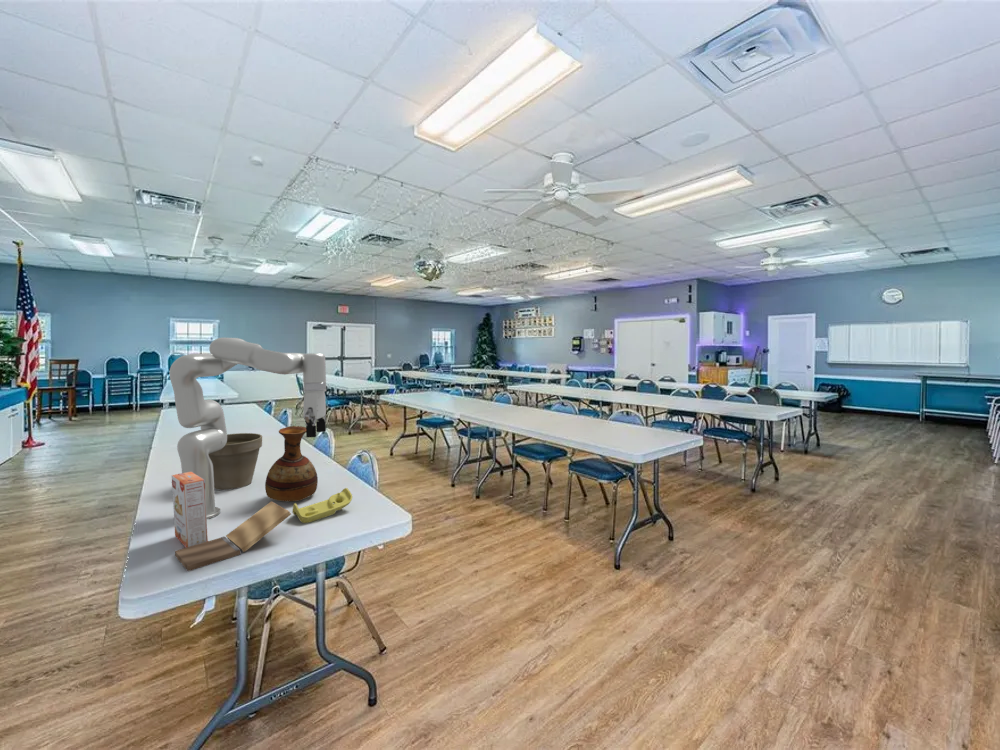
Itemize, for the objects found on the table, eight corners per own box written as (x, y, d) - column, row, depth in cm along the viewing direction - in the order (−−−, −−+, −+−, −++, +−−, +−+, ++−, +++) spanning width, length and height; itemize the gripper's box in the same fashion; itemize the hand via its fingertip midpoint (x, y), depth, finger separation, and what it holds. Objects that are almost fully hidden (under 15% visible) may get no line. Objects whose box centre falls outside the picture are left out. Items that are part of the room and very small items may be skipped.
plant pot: (228, 496, 179) (226, 445, 178) (185, 491, 186) (183, 442, 185) (276, 479, 203) (274, 434, 201) (236, 475, 210) (234, 431, 209)
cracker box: (173, 537, 140) (170, 474, 139) (195, 531, 144) (192, 470, 143) (185, 550, 131) (182, 483, 130) (208, 543, 135) (205, 478, 134)
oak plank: (244, 552, 129) (241, 548, 128) (228, 539, 138) (225, 535, 137) (291, 514, 139) (288, 511, 138) (273, 504, 148) (271, 501, 147)
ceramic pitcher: (269, 510, 164) (267, 433, 162) (262, 496, 180) (259, 425, 178) (323, 499, 175) (321, 427, 173) (311, 487, 191) (310, 421, 190)
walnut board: (175, 555, 127) (174, 550, 127) (224, 541, 137) (224, 536, 137) (187, 571, 118) (187, 565, 118) (240, 554, 128) (240, 549, 128)
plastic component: (302, 519, 149) (292, 500, 155) (301, 534, 152) (291, 515, 158) (356, 501, 162) (345, 484, 169) (354, 515, 166) (343, 499, 172)
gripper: (313, 385, 162) (314, 430, 163) (294, 389, 145) (295, 439, 146) (333, 385, 163) (334, 429, 164) (316, 389, 145) (318, 439, 146)
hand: (316, 434), depth 155 cm, fingers open, 9 cm apart
